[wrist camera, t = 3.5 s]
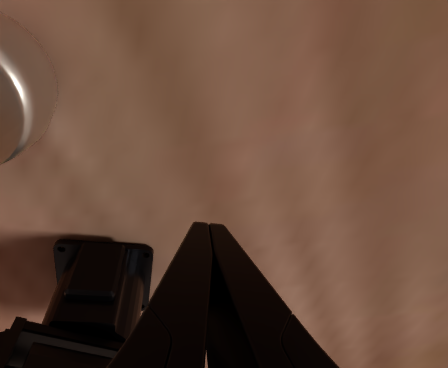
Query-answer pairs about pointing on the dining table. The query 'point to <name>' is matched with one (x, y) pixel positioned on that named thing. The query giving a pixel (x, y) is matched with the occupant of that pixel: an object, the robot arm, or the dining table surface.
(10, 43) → the plastic bottle
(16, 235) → the dining table surface
